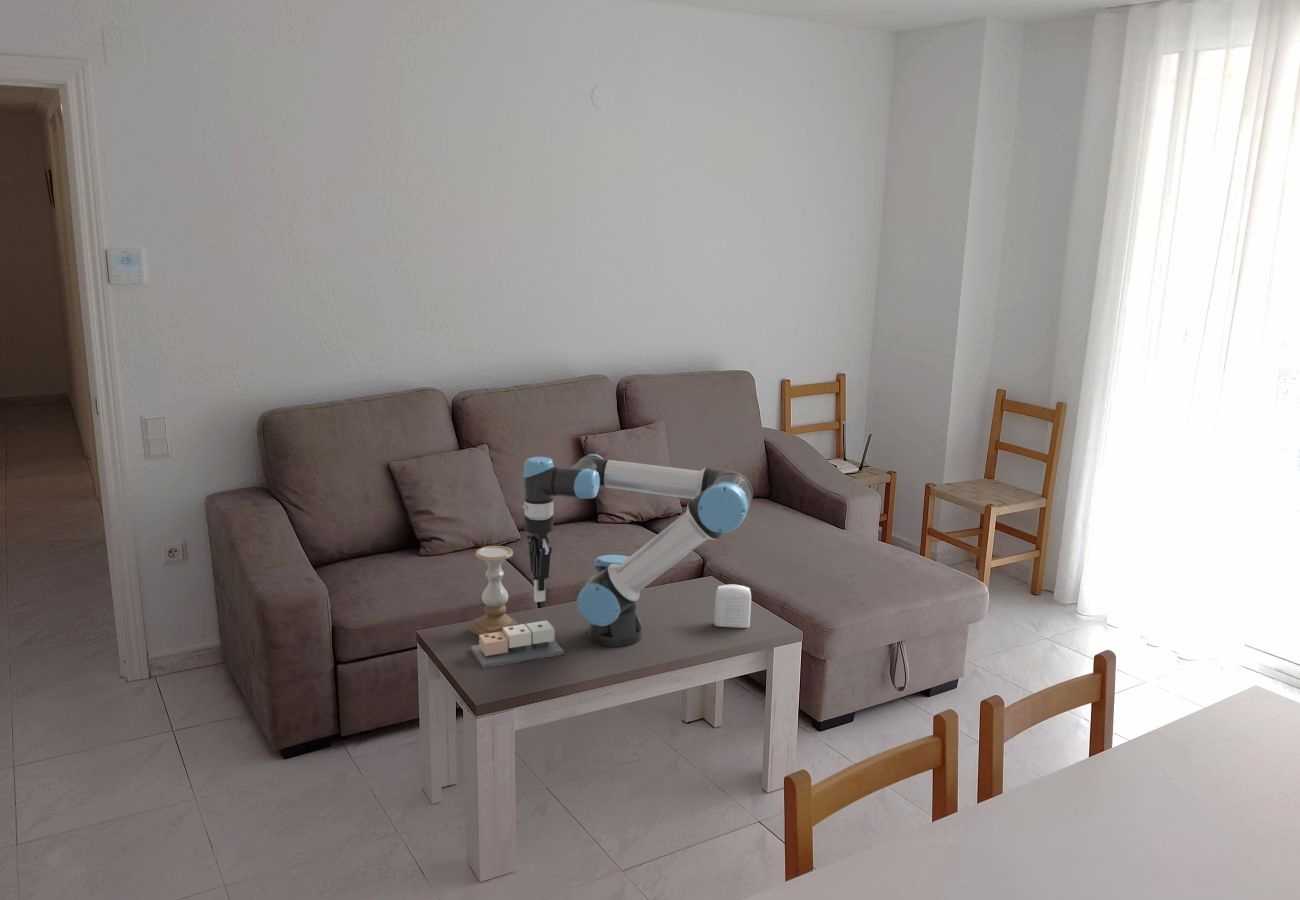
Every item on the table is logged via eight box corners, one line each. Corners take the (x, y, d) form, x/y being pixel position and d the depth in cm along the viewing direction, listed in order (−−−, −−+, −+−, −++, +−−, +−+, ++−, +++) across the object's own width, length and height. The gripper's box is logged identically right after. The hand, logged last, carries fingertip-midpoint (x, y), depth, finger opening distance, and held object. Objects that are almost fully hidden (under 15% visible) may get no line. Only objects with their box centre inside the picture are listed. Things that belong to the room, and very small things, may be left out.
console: (548, 637, 283) (548, 624, 282) (563, 654, 273) (563, 641, 272) (471, 650, 274) (470, 637, 273) (483, 668, 264) (483, 654, 263)
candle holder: (468, 630, 287) (466, 549, 282) (503, 621, 294) (501, 542, 288) (488, 643, 279) (486, 560, 273) (522, 634, 285) (521, 553, 280)
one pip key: (547, 632, 279) (547, 619, 279) (554, 640, 274) (554, 627, 273) (526, 635, 277) (525, 622, 276) (533, 644, 272) (532, 631, 271)
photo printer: (749, 623, 296) (751, 583, 293) (750, 629, 292) (751, 588, 289) (714, 621, 296) (715, 581, 293) (714, 627, 292) (715, 587, 289)
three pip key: (501, 643, 274) (500, 630, 273) (507, 652, 269) (507, 639, 268) (479, 647, 272) (479, 634, 271) (485, 656, 267) (485, 642, 266)
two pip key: (524, 636, 277) (524, 623, 276) (531, 644, 271) (531, 631, 271) (502, 639, 274) (502, 626, 273) (509, 648, 269) (509, 635, 268)
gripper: (517, 510, 272) (518, 594, 277) (533, 524, 260) (534, 611, 266) (544, 507, 275) (544, 590, 280) (561, 521, 263) (561, 607, 269)
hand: (539, 600), depth 273 cm, fingers closed
